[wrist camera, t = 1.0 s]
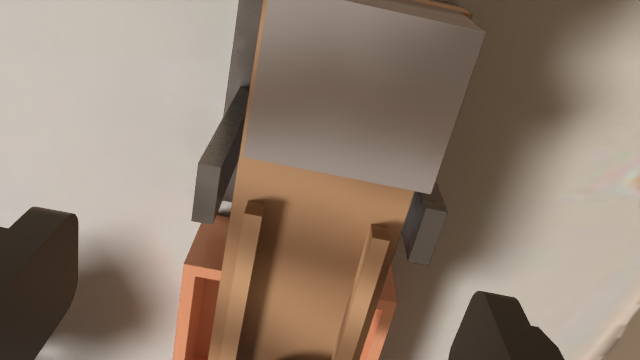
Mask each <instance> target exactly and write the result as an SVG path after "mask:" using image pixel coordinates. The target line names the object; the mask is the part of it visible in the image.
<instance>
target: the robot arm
mask: <svg viewBox="0 0 640 360" xmlns="http://www.w3.org/2000/svg"><path fill="white" fill-rule="evenodd" d="M77 280H78V219H77V216H76V215H75V214H72V213H67V212H61V211H56V210H51V209H45V208H40V207H32V208H30V209H29V210H28V211H27V212H26V213H25V214H24V215H22V216H21V217H20V218H19V219H18V220H17V221H16V222H15V223H14V224H13V225H12V226H11V227H10V228H9V229H8V228H3V227H0V360H34V359H35V358H36V356H37V355H38V353H39V352H40V350H41V349H42V347H43V346H44V344H45V343H46V341H47V340H48V339H49V337H50V336H51V334H52V333H53V331H54V330H55V328H56V327H57V325H58V324H59V322H60V321H61V319H62V318H63V316H64V315H65V314H66V312H67V310H68V309H69V307H70V305H71V303H72V300H73V298H74V295H75V291H76V287H77ZM449 360H564V358H563V356H562V354H561V352H560V350H559V348H558V347H557V346H556V345H555V344H554V343H553V342H552V341H551V340H550V339H549V338H548V337H547V336H546V335H545V334H544V333H543V331H542V330H541V329H540V328H539V327H535V326H531V325H530V323H529V321H528V319H527V317H526V315H525V313H524V311H523V309H522V307H521V305H520V303H519V301H518V300H517V299H516V298H514V297H509V296H504V295H499V294H493V293H488V292H483V291H477V292H476V293H475V294H474V295H473V297H472V299H471V301H470V303H469V305H468V308H467V310H466V313H465V315H464V317H463V320H462V322H461V325H460V327H459V329H458V332H457V334H456V337H455V339H454V341H453V344H452V346H451V349H450V353H449Z"/></svg>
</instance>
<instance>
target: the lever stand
mask: <svg viewBox="0 0 640 360" xmlns="http://www.w3.org/2000/svg"><path fill="white" fill-rule="evenodd" d="M428 1H433V2H437V3H442V4H446V5H451V6H455V7H459V6H458V5H455V4H450V3H446V2H441V1H437V0H428ZM262 6H263V0H239V5H238V12H237V19H236V27H235V34H234V42H233V49H232V56H231V64H230V71H229V79H228V86H227V93H226V101H225V108H224V116H223V119H222V121H221V123H220V124H219V126H218V128H217V130H216V132H215V134H214V135H213V137H212V139H211V141H210V143H209V145H208V146H207V148H206V150H205V152H204V154H203V156H202V157H201V159H200V161H199V163H198V170H197V178H196V187H195V195H194V204H193V212H192V221H195V222H200V223H206V224H211V225H213V223H214V221H215V218H216V216H217V213H218V210H219V208H220V205H221V203H222V201H228V202H232V200H233V194H234V187H235V181H236V175H237V168H238V162H239V155H240V149H241V142H242V136H243V129H244V123H245V116H246V110H247V103H248V97H249V90H250V84H251V77H252V71H253V65H254V58H255V52H256V45H257V39H258V32H259V26H260V19H261V13H262ZM460 8H461V7H460ZM447 213H448V212H447V210H446V207H445V204H444V202H443V199H442V197H441V194H440V191H439V189H438V186H437V184H436V181H435V183H434V186H433V189H432V192H431V194H426V193H421V192H416V191H414V194H413V197H412V200H411V203H410V207H409V210H408V213H407V216H406V219H405V222H404V225H403V228H402V236H403V240H404V245H405V250H406V254H407V259H408V262H412V263H418V264H423V265H429V262H430V259H431V257H432V254H433V251H434V248H435V246H436V243H437V240H438V237H439V235H440V232H441V229H442V226H443V224H444V221H445V218H446V215H447Z"/></svg>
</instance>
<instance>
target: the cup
mask: <svg viewBox="0 0 640 360" xmlns="http://www.w3.org/2000/svg"><path fill="white" fill-rule="evenodd" d="M229 220H230V217H225V216H220V215H217V216H216V218H215V221H214V223H213V225H211V224H206V223H201V225H200V227H199V230H198V232H197V234H196V237H195V239H194V241H193V244H192V246H191V248H190V251H189V253H188V255H187V258H186V260H185V262H184V267H183V275H182V284H181V293H180V301H179V310H178V319H177V328H176V336H175V345H174V354H173V360H208V356H209V349H210V343H211V336H212V330H213V323H214V317H215V310H216V304H217V297H218V291H219V285H220V278H221V272H222V265H223V259H224V252H225V246H226V239H227V233H228V226H229ZM397 304H398V301H397V295H396V289H395V283H394V277H393V271H392V265H390V268H389V271H388V274H387V277H386V280H385V283H384V286H383V289H382V292H381V295H380V299H379V302H378V305H377V308H376V311H375V314H374V317H373V320H372V323H371V326H370V329H369V332H368V335H367V338H366V341H365V344H364V348H363V351H362V354H361V357H360V360H378V359H379V356H380V353H381V350H382V347H383V344H384V341H385V339H386V336H387V333H388V330H389V327H390V324H391V321H392V318H393V315H394V313H395V310H396V307H397Z"/></svg>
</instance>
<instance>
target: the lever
mask: <svg viewBox="0 0 640 360" xmlns="http://www.w3.org/2000/svg"><path fill="white" fill-rule="evenodd" d="M471 16H472V14H471V13H469V12H468V11H467V10H465V9H464V8H460V7H455V6H451V5H446V4H442V3H437V2H433V1H428V0H263V6H262V13H261V19H260V26H259V32H258V39H257V45H256V52H255V58H254V65H253V71H252V77H251V84H250V90H249V97H248V103H247V110H246V116H245V123H244V129H243V136H242V142H241V149H240V155H239V162H238V168H237V175H236V181H235V187H234V194H233V200H232V207H231V213H230V220H229V226H228V233H227V239H226V246H225V252H224V259H223V265H222V272H221V278H220V285H219V291H218V297H217V304H216V310H215V317H214V323H213V330H212V336H211V343H210V349H209V356H208V360H360V357H361V354H362V351H363V348H364V344H365V341H366V338H367V335H368V332H369V329H370V326H371V323H372V320H373V317H374V314H375V311H376V308H377V305H378V302H379V299H380V295H381V292H382V289H383V286H384V283H385V280H386V277H387V274H388V271H389V268H390V265H391V262H392V259H393V256H394V253H395V249H396V246H397V243H398V240H399V237H400V234H401V231H402V228H403V225H404V222H405V219H406V216H407V213H408V210H409V207H410V203H411V200H412V197H413V194H414V191H416V192H421V193H426V194H431V192H432V189H433V186H434V183H435V180H436V177H437V174H438V172H439V169H440V166H441V163H442V160H443V157H444V154H445V151H446V148H447V145H448V142H449V139H450V137H451V134H452V131H453V128H454V125H455V122H456V119H457V116H458V113H459V110H460V107H461V104H462V102H463V99H464V96H465V93H466V90H467V87H468V84H469V81H470V78H471V75H472V72H473V69H474V67H475V64H476V61H477V58H478V55H479V52H480V49H481V46H482V43H483V40H484V37H485V34H486V31H484V30H483V29H482V28H480V27H479V26H478V25H477V24H475V23H474V22H473V21H471Z"/></svg>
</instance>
